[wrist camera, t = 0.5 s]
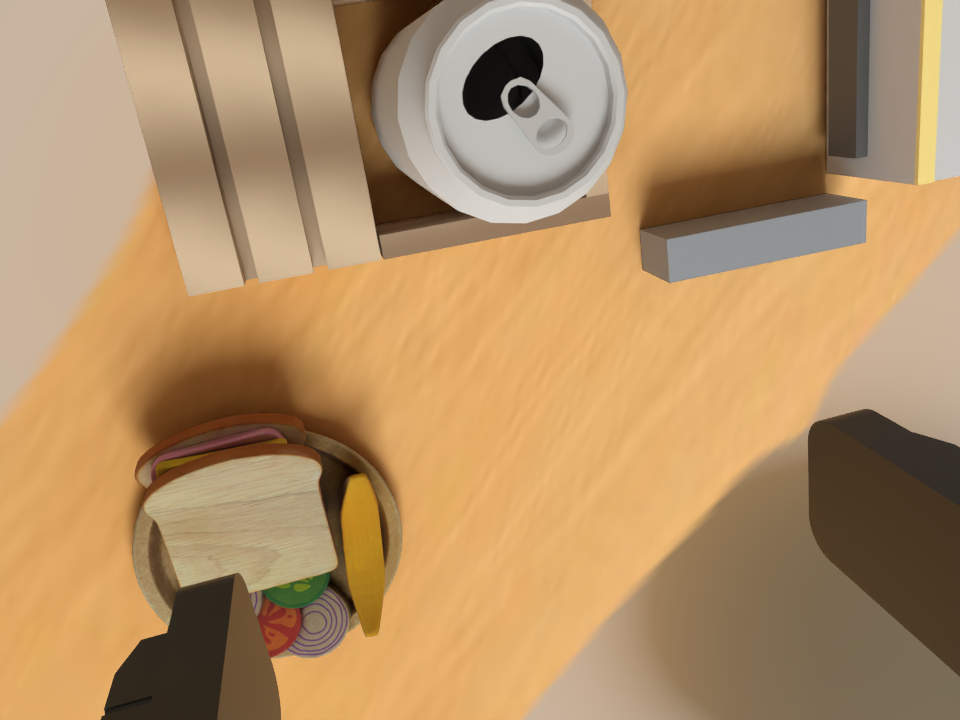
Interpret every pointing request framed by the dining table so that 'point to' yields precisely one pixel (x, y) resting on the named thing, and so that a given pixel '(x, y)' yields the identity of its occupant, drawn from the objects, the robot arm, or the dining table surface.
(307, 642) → the toy sandwich meal
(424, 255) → the dining table surface
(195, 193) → the pallet
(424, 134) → the can
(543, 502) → the dining table surface
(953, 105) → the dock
